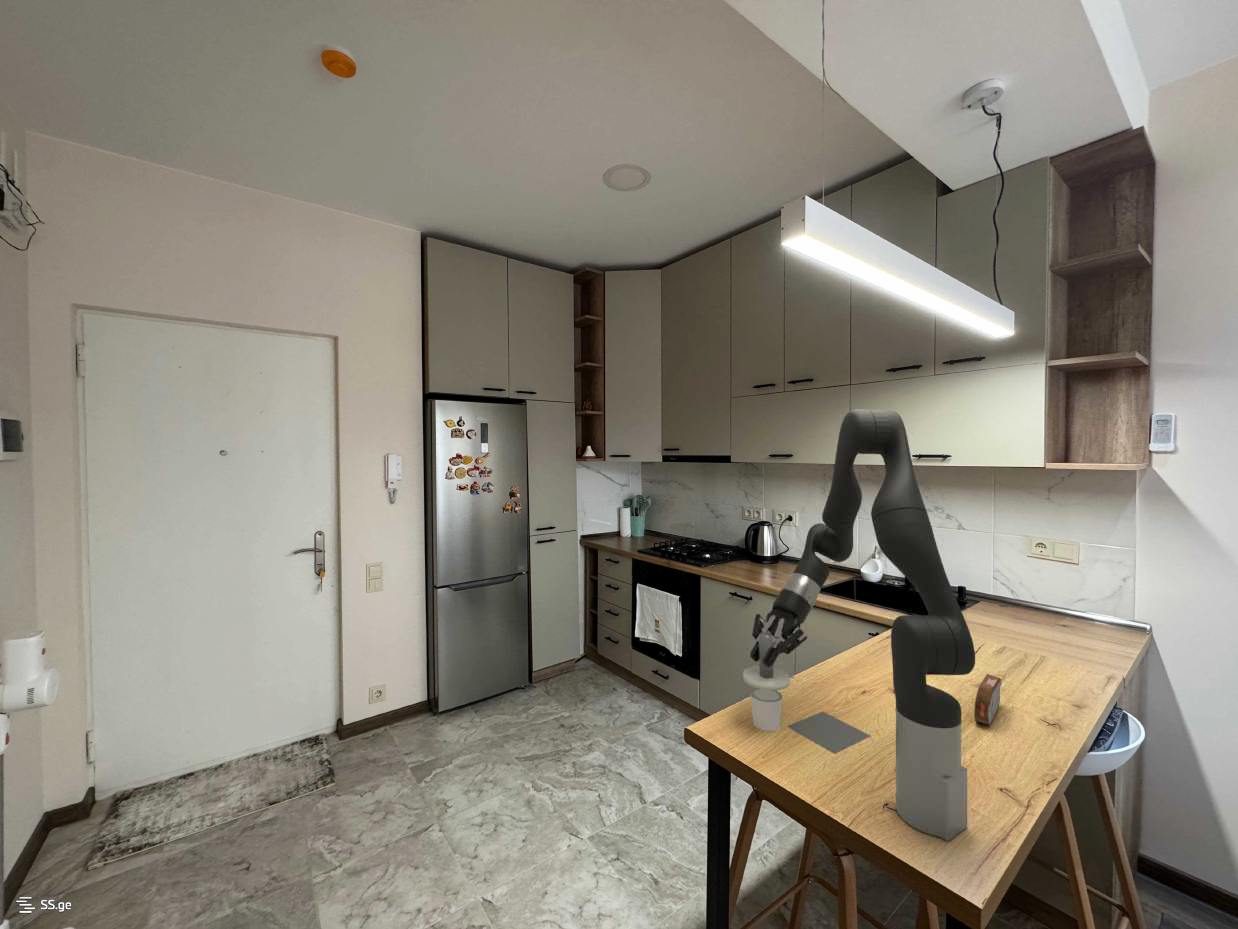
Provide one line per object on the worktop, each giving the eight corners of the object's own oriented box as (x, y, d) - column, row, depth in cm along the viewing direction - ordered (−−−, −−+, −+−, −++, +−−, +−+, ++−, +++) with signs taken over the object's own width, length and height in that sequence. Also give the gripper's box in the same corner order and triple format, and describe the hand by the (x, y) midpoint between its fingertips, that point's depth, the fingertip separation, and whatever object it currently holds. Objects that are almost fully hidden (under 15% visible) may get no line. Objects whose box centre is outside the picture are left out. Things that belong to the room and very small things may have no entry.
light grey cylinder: (761, 736, 108) (760, 703, 108) (744, 720, 115) (744, 689, 115) (789, 731, 110) (789, 699, 110) (771, 715, 116) (771, 685, 116)
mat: (871, 737, 107) (871, 735, 107) (834, 755, 101) (834, 753, 101) (822, 712, 117) (822, 711, 117) (786, 727, 111) (786, 726, 111)
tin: (986, 702, 121) (986, 667, 121) (1003, 707, 119) (1003, 671, 119) (972, 727, 111) (972, 688, 110) (990, 732, 108) (990, 693, 108)
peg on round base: (800, 682, 110) (799, 637, 110) (767, 694, 105) (767, 647, 105) (765, 666, 119) (764, 624, 119) (733, 676, 114) (733, 632, 114)
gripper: (765, 581, 121) (727, 642, 116) (814, 595, 109) (775, 664, 104) (780, 600, 124) (745, 660, 118) (830, 615, 112) (793, 683, 106)
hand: (759, 662), depth 111 cm, fingers closed on peg on round base, 3 cm apart
